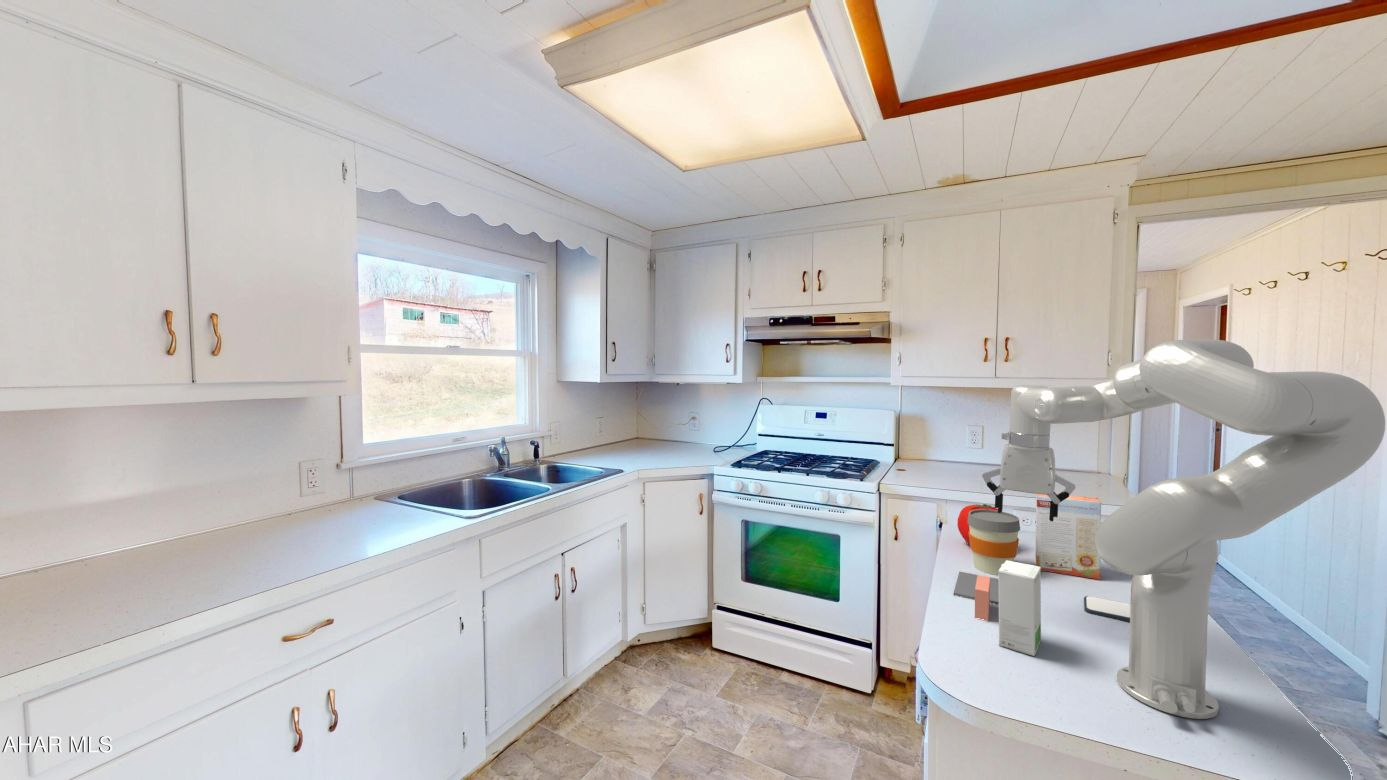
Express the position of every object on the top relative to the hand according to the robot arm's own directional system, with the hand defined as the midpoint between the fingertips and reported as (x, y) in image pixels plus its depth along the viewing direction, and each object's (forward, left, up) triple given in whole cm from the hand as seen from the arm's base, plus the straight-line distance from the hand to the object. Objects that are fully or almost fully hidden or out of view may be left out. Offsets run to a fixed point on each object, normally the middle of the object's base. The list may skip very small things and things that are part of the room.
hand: (1025, 515), depth 112 cm
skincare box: (-14, +1, -23) cm, 27 cm away
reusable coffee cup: (+26, +7, -23) cm, 36 cm away
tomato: (+44, +10, -23) cm, 51 cm away
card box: (-3, +8, -23) cm, 25 cm away
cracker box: (+34, -10, -23) cm, 42 cm away
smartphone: (+12, -20, -24) cm, 33 cm away
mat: (+10, +7, -23) cm, 26 cm away
